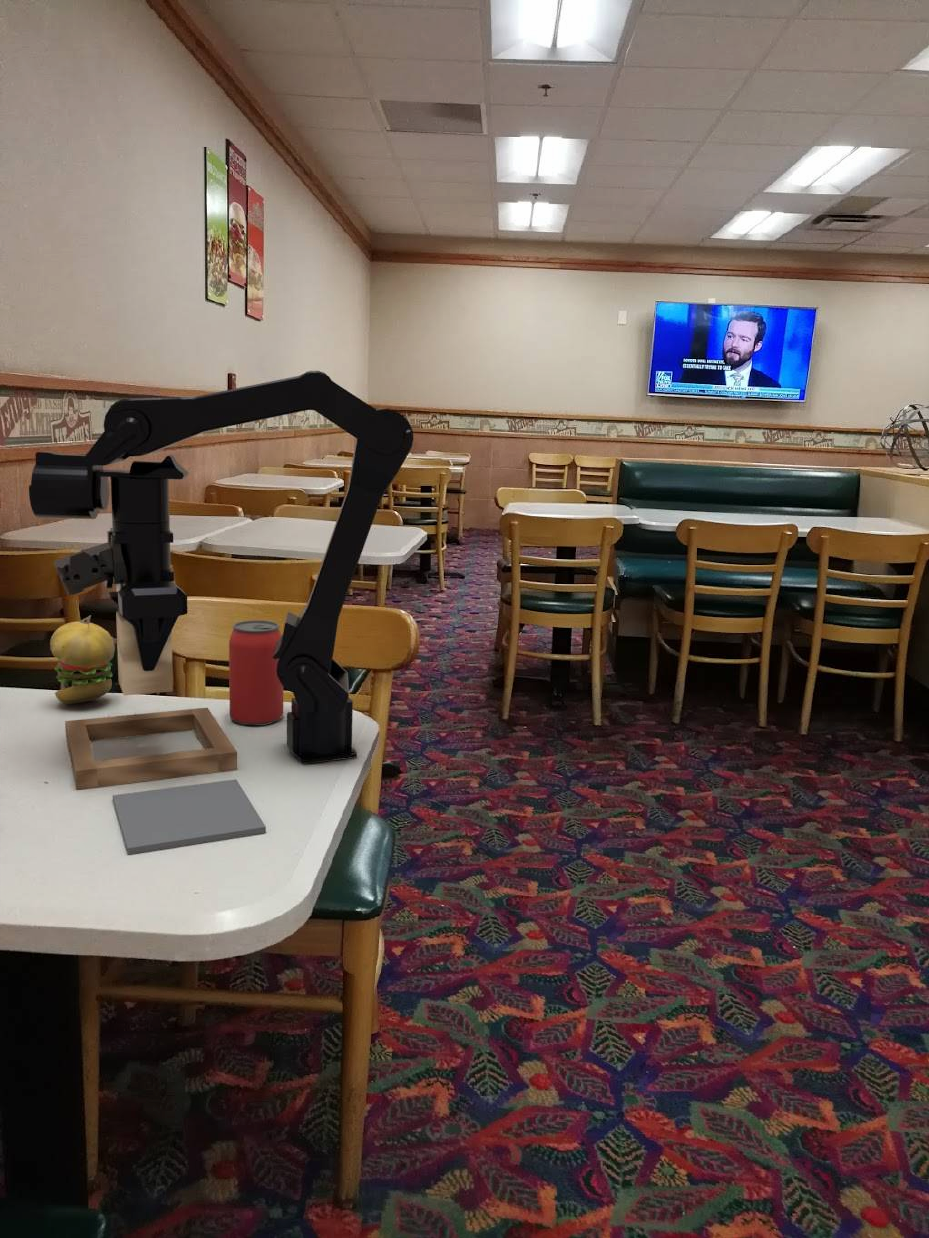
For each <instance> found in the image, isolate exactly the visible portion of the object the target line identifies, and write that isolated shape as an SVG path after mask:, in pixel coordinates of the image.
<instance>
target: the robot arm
mask: <svg viewBox="0 0 929 1238" xmlns="http://www.w3.org/2000/svg"><path fill="white" fill-rule="evenodd" d="M306 411H315V412H316V413H317V414H319V415H320V416H322V417H323V418H325V419H326V420H328V421H330V422H331V423H333V424H334V425H335V426H337V427H338V428H340V429H342V430H343V431H345V432H346V433H348V434H349V435H351V436H352V437H353V438H355V442H354V449H353V455H352V461H351V462H352V463H351V468H350V475H349V480H348V487H347V490H346V493H345V496H344V498H343V501H342V504H341V506H340V510H339V513H338V515H337V518H336V521H335V524H334V527H333V530H332V533H331V534H330V538H329V541H328V544H327V547H326V550H325V553H324V555H323V559H322V561H321V564H320V567H319V570H318V573H317V576H316V578H315V581H314V584H313V587H312V591H311V592H310V596H309V599H308V600H307V602H306V605H305V606H304V608H302V611H300V614H299V615H296V614H294V613H293V612H291V611H288V612H286V613H287V614H286V616H285V617H286V618H285V620H284V621H285V622H284V626H283V632H282V634H281V635H282V637H281V638H280V639H279V640H278V641H277V643H276V647H275V651H274V655H273V659H278V658H279V660H278V664H277V677H278V678H279V680H280V682H281V684H282V685H283V688H284V689H286V690H287V691H288V692H290V693H292V694H293V696H294V697H292V698H291V711H288V712H287V713H286V748H288V750H289V751H290V752H291V753H292V754H293V755H294V756H295V758H296V759H297V760H298V761H299V762H300V763H301V764H312V763H321V762H329V761H336V760H338V761H339V760H344V759H352V758H353V759H355V758H357V757H358V752H357V751H356V750H355V749H354V747H353V713H354V712H353V710H354V708H353V706H354V702H353V700H352V699H351V698H350V692H349V691H350V690H349V687H350V686H349V673H348V671H346V669H344V667H342V666H341V665H340V664H339V663H338V662H337V660H335V659H334V658H333V657H334V652H335V646H336V638H337V631H338V625H339V618H340V615H341V612H342V610H343V606H344V603H345V600H346V598H347V595H348V593H349V589H350V587H351V584H352V582H353V579H354V575H355V572H356V569H357V567H358V565H359V562H360V559H361V555H362V554H363V551H364V548H365V545H366V542H367V539H368V536H369V533H370V532H371V531H370V530H371V527H372V526H373V523H374V520H375V516H376V514H377V512H378V508H379V506H380V502H381V500H382V499H383V497H384V495H386V494H385V493H386V492H387V490H388V489H389V487H390V486H391V484H392V482H393V481H394V479H396V476H397V474H398V473H399V471H400V469H401V468H402V466H403V465H404V463H405V461H406V459H407V457H408V455H409V454H410V452H411V450H412V447H413V444H414V443H413V442H414V430H413V428H412V426H411V424H410V422H409V420H408V419H407V418H406V417H405V416H404V415H403V414H402V413H400V412H398V411H396V410H393V409H389V408H380V409H376V408H374V407H372V406H371V405H370V404H368V403H366V402H365V401H364V400H363V399H361V398H359V397H358V396H356V395H354V394H353V393H351V392H349V391H348V390H346V389H345V388H344V387H342V386H341V385H340V384H338V383H336V382H334V381H333V380H332V379H331V377H330V376H329V375H327V374H326V373H325V372H323V371H320V370H308V371H306V372H304V373H303V374H300V375H295V376H290V377H286V378H281V379H277V380H271V381H265V382H262V383H261V382H260V383H258V384H257V383H256V384H251V385H248V386H247V385H246V386H241V387H238V388H237V387H236V388H232V389H227V390H222V391H217V392H212V393H207V394H203V395H197V396H183V397H182V396H180V397H178V396H177V397H169V396H168V397H130V398H123V399H120V400H118V401H116V402H114V403H113V404H111V405H110V407H109V408H108V410H107V412H106V414H105V417H104V421H103V430H104V431H103V432H102V434H100V436H99V437H98V439H97V440H96V441H95V443H94V444H93V446H92V447H90V449H89V451H88V452H86V454H79V453H76V454H75V453H74V454H72V453H61V452H57V451H50V450H49V451H48V450H41V451H37V452H36V453H35V455H34V456H35V465H34V466H33V469H32V473H31V478H30V479H31V480H30V484H29V485H28V494H29V495H28V497H29V503H30V507H31V511H32V512H33V515H34V517H36V518H42V519H43V518H45V519H73V520H74V519H76V520H77V519H78V520H79V519H80V520H96V518H97V517H98V515H99V511H101V510H103V511H106V510H107V509H108V505H109V501H110V496H111V521H112V523H111V526H112V527H110V528H109V530H107V533H106V534H107V542H104V543H102V544H98V545H95V546H91V547H88V548H85V549H81V550H80V551H77V552H74V553H69V554H68V555H66V556H64V557H63V556H62V557H61V558H59V559H57V560H54V561H53V564H54V567H55V569H56V572H57V574H58V576H59V579H60V580H61V583H62V585H63V587H64V590H65V591H66V593H67V595H69V596H74V595H76V594H81V593H82V592H84V590H85V589H87V588H90V587H94V586H95V585H99V584H101V583H104V587H105V588H106V589H112V588H113V585H116V591H109V592H108V596H109V598H110V599H111V600H112V601H113V602H115V604H116V605H118V608H117V609H116V610H117V612H119V614H120V616H121V617H122V618H124V619H125V620H127V621H128V622H129V623H130V624H132V625H133V628H134V632H135V637H136V641H137V646H138V650H139V655H140V659H141V663H142V668H143V670H144V671H153V670H154V669H155V667H156V665H157V662H158V660H159V658H160V655H161V653H162V651H163V648H164V646H165V644H166V642H167V640H168V637H169V635H170V633H171V631H172V632H173V629H174V626H175V624H176V622H177V620H178V618H179V617H180V616H184V615H187V614H188V595H187V594H186V593H185V592H184V590H183V589H182V588H180V587H179V585H177V584H176V583H175V572H174V570H173V569H172V568H171V543H174V532H173V531H171V523H170V519H171V518H170V516H171V515H170V480H183V479H185V478H187V477H188V476H189V471H188V470H187V469H186V468H184V467H183V466H182V465H180V464H179V462H178V461H177V460H176V458H175V456H174V455H172V454H169V455H167V456H165V458H164V459H163V460H162V461H145V460H144V461H140V460H134V461H133V462H131V466H130V468H129V470H128V469H104V467H105V466H108V465H112V464H117V463H120V462H124V461H126V460H127V459H129V458H130V457H142V456H146V455H147V456H148V455H150V454H155V453H156V452H157V453H158V452H159V451H163V450H164V449H166V448H170V447H172V446H174V445H176V444H179V443H181V442H183V441H187V440H189V439H192V438H193V437H196V436H199V435H201V434H204V433H206V432H209V431H212V430H216V429H217V430H219V429H224V428H228V427H232V426H233V427H234V426H237V425H242V424H247V423H252V422H256V421H262V420H267V419H271V418H277V417H282V416H286V415H290V414H294V413H295V414H296V413H301V412H306ZM109 478H110V486H109Z"/></svg>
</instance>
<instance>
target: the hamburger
mask: <svg viewBox="0 0 929 1238" xmlns="http://www.w3.org/2000/svg"><path fill="white" fill-rule="evenodd" d="M91 616H92V615H89V616H87V617H85V618H83V619H81V620H79V621H72V622H68V623H65V624H63V625H61V626H59V627H58V628H57V629H56V630H55V631H54V632H53V634H52V635H51V638H50V642H49V645H50V647H49V649H50V651H51V653H52V655H53V656H54V657H55V658H56V659H58V660H59V661H58V662H57V665H56V666H55V668H54V670H55V672H57V675H56V677H55V680H57V681H58V682H60V689H59V690H56V691H55V693H54V694H55V696H56V699H57V700H58V701H59V702H61V703H63V704H71V705H72V704H79V703H84V702H88V701H89V702H90V701H93V700H96V699H99V698H101V697H103V696H104V695H106V694H108V693H109V692H110V690H111V689H112V687H113V686H112V684H113V682H112V679H111V678H112V677H113V672H112V671H111V669H112V668H111V666H113V663H112V662H111V660H112V659H113V658H114V655H115V652H116V651H115V650H116V648H115V647H116V646H115V641H114V640H113V638H114V637H113V636H111V634H110V633H109V631H108V630H106V629H105V628H103V627H102V626H100V625H98V624H95V623H93V622H91V618H92V617H91ZM89 680H90V682H88V681H89ZM70 681H71V686H69V684H68V683H69V682H70Z"/></svg>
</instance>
